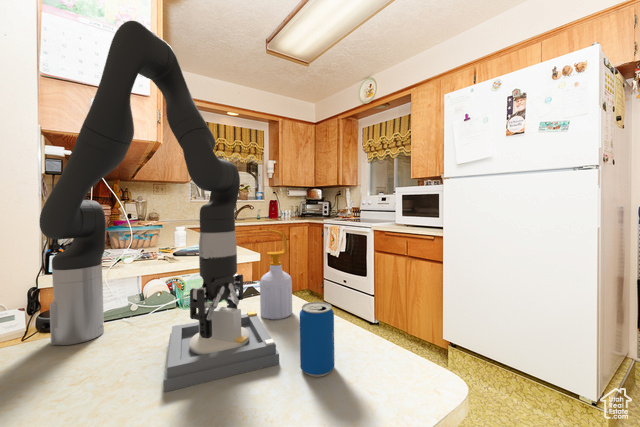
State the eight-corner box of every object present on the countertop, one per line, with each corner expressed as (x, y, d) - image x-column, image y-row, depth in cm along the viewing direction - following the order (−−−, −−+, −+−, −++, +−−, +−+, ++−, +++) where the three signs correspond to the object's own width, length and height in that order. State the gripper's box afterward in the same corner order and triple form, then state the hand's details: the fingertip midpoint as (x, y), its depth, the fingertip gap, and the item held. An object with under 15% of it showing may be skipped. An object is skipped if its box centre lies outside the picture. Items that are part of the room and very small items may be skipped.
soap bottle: (259, 310, 87) (257, 228, 86) (289, 307, 89) (287, 227, 89) (262, 322, 78) (260, 230, 77) (295, 317, 81) (294, 229, 80)
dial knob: (176, 350, 59) (175, 315, 58) (216, 326, 70) (215, 297, 70) (225, 360, 54) (225, 323, 54) (260, 333, 66) (259, 303, 65)
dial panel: (164, 392, 49) (163, 366, 49) (170, 342, 67) (169, 323, 67) (279, 363, 57) (278, 342, 57) (256, 326, 75) (256, 309, 75)
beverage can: (331, 381, 51) (330, 313, 51) (296, 377, 53) (295, 311, 52) (336, 361, 58) (336, 301, 57) (305, 358, 59) (304, 300, 59)
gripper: (225, 247, 70) (227, 315, 70) (177, 257, 56) (179, 341, 57) (252, 248, 67) (253, 319, 67) (208, 259, 54) (210, 347, 54)
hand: (220, 329), depth 62 cm, fingers open, 7 cm apart
